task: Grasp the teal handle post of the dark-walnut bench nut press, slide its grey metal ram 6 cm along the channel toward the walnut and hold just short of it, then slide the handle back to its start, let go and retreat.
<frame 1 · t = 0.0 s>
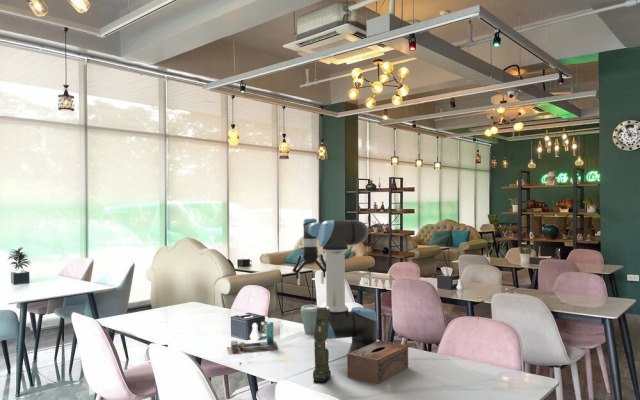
hand: (310, 284, 273), 28 cm above the table, fingers open, 13 cm apart
disposable coffee cup: (310, 333, 276), on the table
ram: (268, 334, 244), point 8 cm above the table, slide at 0.0 cm
press base: (252, 351, 241), on the table
walnut: (242, 349, 240), point 1 cm above the table, touching press base
mechanical leg: (322, 378, 202), on the table
tissue box cover: (378, 373, 209), on the table
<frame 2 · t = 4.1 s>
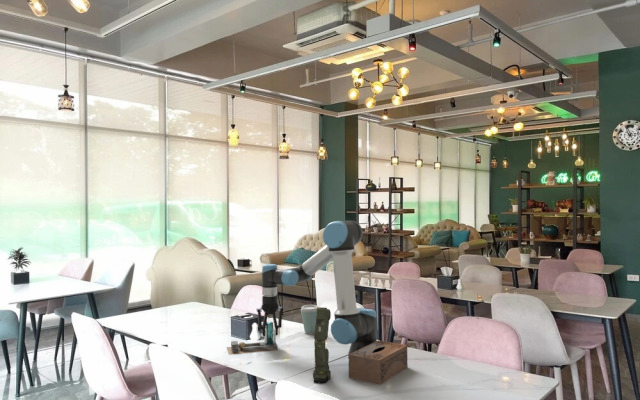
hand: (270, 342, 244), 4 cm above the table, fingers closed on ram, 4 cm apart
ram: (267, 334, 244), point 8 cm above the table, slide at 0.2 cm, touching gripper
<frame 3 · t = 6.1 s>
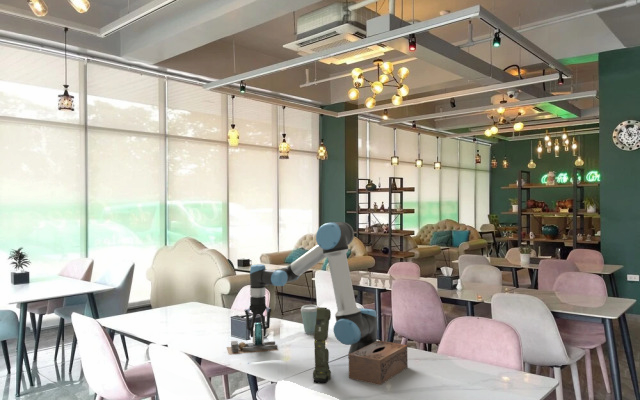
hand: (258, 343, 242), 4 cm above the table, fingers closed on ram, 4 cm apart
ram: (256, 335, 242), point 8 cm above the table, slide at 5.9 cm, touching gripper
everything else where it was.
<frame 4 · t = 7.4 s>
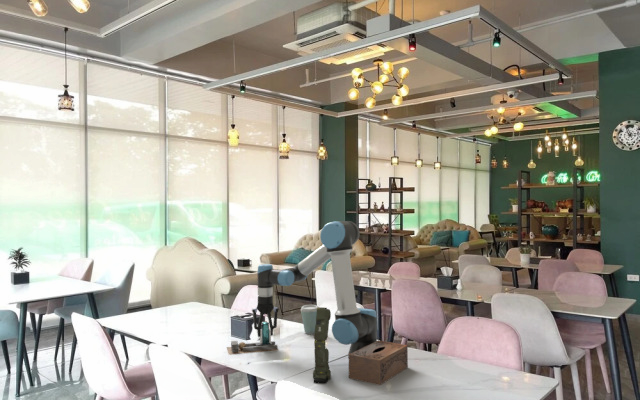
hand: (265, 342, 243), 4 cm above the table, fingers closed on ram, 4 cm apart
ram: (263, 334, 243), point 8 cm above the table, slide at 2.3 cm, touching gripper
everything else where it was.
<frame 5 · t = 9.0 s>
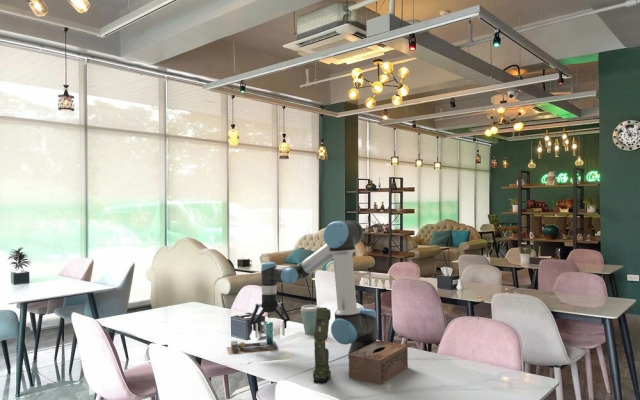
hand: (270, 336, 244), 7 cm above the table, fingers open, 13 cm apart
ram: (267, 334, 244), point 8 cm above the table, slide at 0.3 cm
everything else where it was.
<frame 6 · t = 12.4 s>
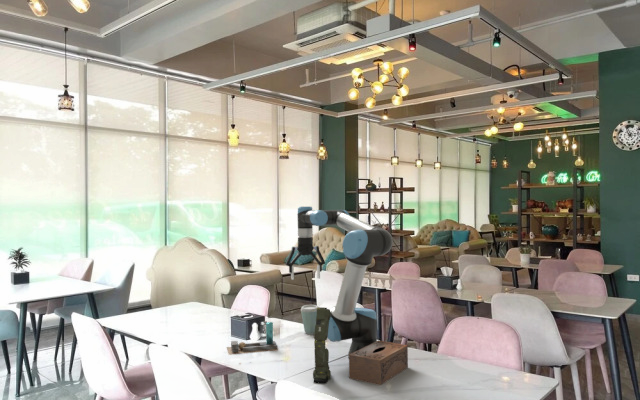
hand: (305, 278, 247), 35 cm above the table, fingers open, 13 cm apart
nothing on the table moved.
at the end: ram slide at 0.3 cm; the gripper is holding nothing; walnut moved 0.0 cm from its start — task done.
